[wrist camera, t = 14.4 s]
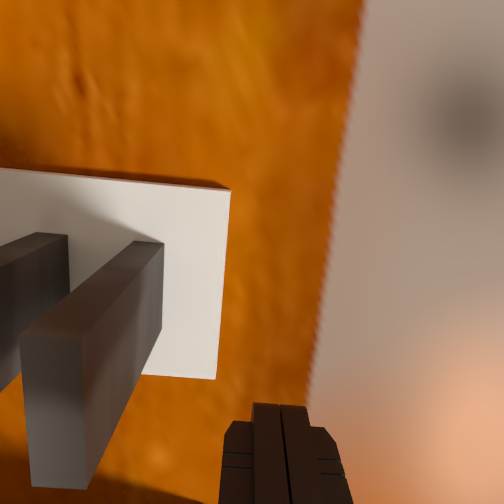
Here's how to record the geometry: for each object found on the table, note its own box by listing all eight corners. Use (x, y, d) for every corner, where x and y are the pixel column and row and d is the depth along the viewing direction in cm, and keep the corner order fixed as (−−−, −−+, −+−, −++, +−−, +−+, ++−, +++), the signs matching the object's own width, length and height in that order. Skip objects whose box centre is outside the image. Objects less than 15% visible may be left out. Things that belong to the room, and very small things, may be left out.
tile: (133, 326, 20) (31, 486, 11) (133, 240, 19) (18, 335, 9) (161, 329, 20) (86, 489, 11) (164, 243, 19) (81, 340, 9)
